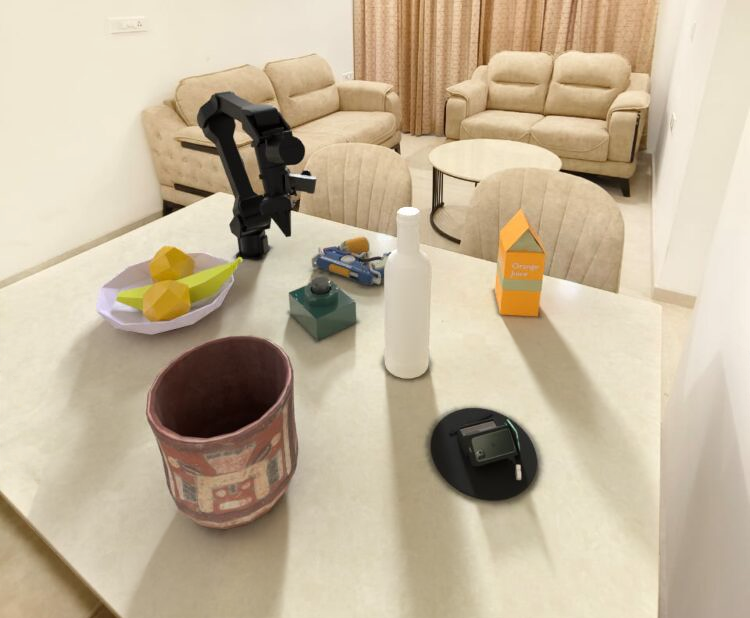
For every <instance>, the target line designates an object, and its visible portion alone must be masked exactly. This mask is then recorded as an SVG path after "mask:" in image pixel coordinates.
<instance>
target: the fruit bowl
mask: <svg viewBox="0 0 750 618" xmlns="http://www.w3.org/2000/svg"><path fill="white" fill-rule="evenodd" d="M243 261H244V258H241V257H236V259H235V260H234V261H233V262H230V261H229V260H226V259H224V258H222V257H219V256H216V255H213V254H210V253H207V252H205V251H197V252H196V251H194V252H185V251H184V250H183V249H182V248H181V247H177V246H169V245H163V246H162V247H161V248H160V249H159V250H158V251H156V252H155V254H154V256H153V257H152V258H149V259H146V260H143V261H140V262H137V263H134V264H131V265H128V266H127V267H125V268H124V269H123V270H121V271H120V272H119V273H117V274H115V276H113V277H112V278H111V279H109V280H107V282H105V283H104V284H103V285H100V287H99V291H98V296H97V301H96V307H95V312H97V313H98V315H100V316H101V318H103V319H104V320H105V321H107V322H108V323H109V324H110V325H111V327H113V328H114V329H115V330H121V331H127V332H132V333H133V332H134V333H140V334H145V335H151V336H153V335H156V334H160V333H161V334H162V333H164V332H168V331H169V332H170V331H172V330H175V329H180V328H183V327H187V326H188V327H189V326H193V325H195V323H197V322H199V321H200V320H202V319H203V318H204V317H207V316H208V315H209V314H211V313H212V312H213V311H215V310H216V309H218V308H220V307H221V305H222V304H223V302H224V300H225V298H226V297H227V295H228V293H229V291H230V289H231V288H232V286H233V285H234V282H235V278H234V273H235V271H236V270H237V269H238V266H239V265H240V264H241V263H242V262H243Z"/></svg>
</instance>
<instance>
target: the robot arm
mask: <svg viewBox="0 0 750 618" xmlns="http://www.w3.org/2000/svg"><path fill="white" fill-rule="evenodd" d="M236 121H238V122H239V123H241V130H242V131H243V132H245V134H246V135H248V137H249V138H250V139H251V140H252V141H251V143H250V148H251V149H253V150H254V153H255V159H256V162H257V166H258V171H259V174H258V178H259V180H261V184H262V188H263V194H261V193H260V194H259V193H258V192H256V191H255V190H254V188H253V185H252V182H251V180H250V177H249V175H248V172H247V170H246V167H245V163H244V162H243V159H242V158H243V157H242V156H241V153H240V151H239V148H238V146H237V142H236V139H235V137H234V136H235V131H236V127H237V124H236ZM196 123H197V125H198V127H199V128H200V129H201V131H202V133H203V135H204V137H205V138H206V139H207V140H208V141H210V143H212V144H214V146H215V148H216V151H217V154H218V157H219V159H220V162H221V165H222V167H223V170H224V173H225V175H226V178H227V180H228V183H229V187H230V189H231V192H232V194H233V198H234V202H233V206H232V215H233V217H232V219H231V220H230V222H229V230H230V233H231V234H232V235H233V236H235V237H236V239H237V246H238V252H237V253H236V254H235V257H236V258H238V257H241V258H242V259H248V260H261V259H262V258H263V257H264V256H265V254H266V253H267V252H268V251H269V250H270V249H271V246H270V245H269V240H268V239H269V237H268V235H267V234H266V230H271V226H272V225H271V224H272V221H273V222H274V223H275V224H276V226H277V227H278V229H279V230H280V231H281V232H282V234H283V235H284V236H285V238H289V237H291V236H292V210H293V209H294V208H295V206H296V203H297V199H293V197H292V196H294V197H298V195H299V192H302V193H306V194H309V195H310V194H311V195H313V194H315V192H316V185H317V178H318V177H317V176H315V175H312V172H311V170H310V169H303V170H302V171H301V173H300V174H299V173H291V169H290V167H289V166H296V165H299V164H300V163H301V162H302V161H303V160H304V158H305V156H306V146H305V144H304V143H303V141H302V140H301V139H300V138H298V137H296V136H294V135H293V130H292V129H291V126H290V124H289V123H288V122H287V121H286V119H285V118H284V116H283V115H282V113H281V111H280V110H279V109H278V108H277V106H275V105H274V104H273V105H271V104H256V103H255V104H254V103H253V102H251V101H249V100H247V99H245V98H242V97H241V96H239V95H237V94H236V93H235V92H234V91H231V90H227V91H220V92H215V93H214V94H212V95H210V98H209V100H207V101H206V102H205V103H203V104H202V105H201V106H200V107H199V109H198V112H197V115H196Z"/></svg>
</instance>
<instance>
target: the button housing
mask: <svg viewBox="0 0 750 618" xmlns="http://www.w3.org/2000/svg"><path fill="white" fill-rule="evenodd" d="M288 303H289V304H288V305H289V313H290V314H291V316H293V317H294V319H295V320H297V322H298V323H300V324H301V325H302V327H303V328H305V330H306V331H308V332H309V334H310V335H311V336H312V337H313V338H314V339H315V340H316V341H318V342H319V341H321V340H323V339H325V338H327V337H329V336H331V335H333V334H335V333H338V332H339V331H342V330H343V329H346V328H348V327H350V326H352V325H354V324H356V323H357V302H356V300H354V299H353V298H352V297H351V296H350V295H348V294H347V293H346V292H345V291H344V290H342V289H341V288H339V286H338V284H336V282H334V281H333V280H330V292H329V293H326V294H322V295H317V294H314V293H313V292H312V283H311V281H310V282H308V283H307V284H306V285H303V286H301V287H299V288H297V289H294V290H291V291H289V292H288Z"/></svg>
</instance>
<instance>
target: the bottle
mask: <svg viewBox="0 0 750 618" xmlns="http://www.w3.org/2000/svg"><path fill="white" fill-rule="evenodd" d="M395 222H396V249H394V250H393V251H391V252H392V253H391V254H389V257H388V259H387V262H386V265H385V268H384V279H383V284H384V285H383V287H384V288H383V289H384V291H383V293H384V295H383V296H384V305H383V306H384V307H383V308H384V309H383V310H384V311H383V312H384V313H383V314H384V349H383V356H384V365H385V368H386V370H387V371H388V372H389V373H390V374H391V375H393V376H395V377H397V378H401V379H415V378H419V377H420V376H422V375H423V374H425V372H427V370H428V369H429V360H430V334H431V333H430V331H431V329H430V328H431V301H432V300H431V299H432V272H433V269H432V266H431V263H430V260H429V258H428V255H427V253H425V252H424V251H423V250H422V249H420V239H421V233H420V232H421V223H422V218H421V212H420V210H419V209H418V208H416V207H413V206H404V207H401V208H400V209H398V210H397V212H396V218H395Z"/></svg>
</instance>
